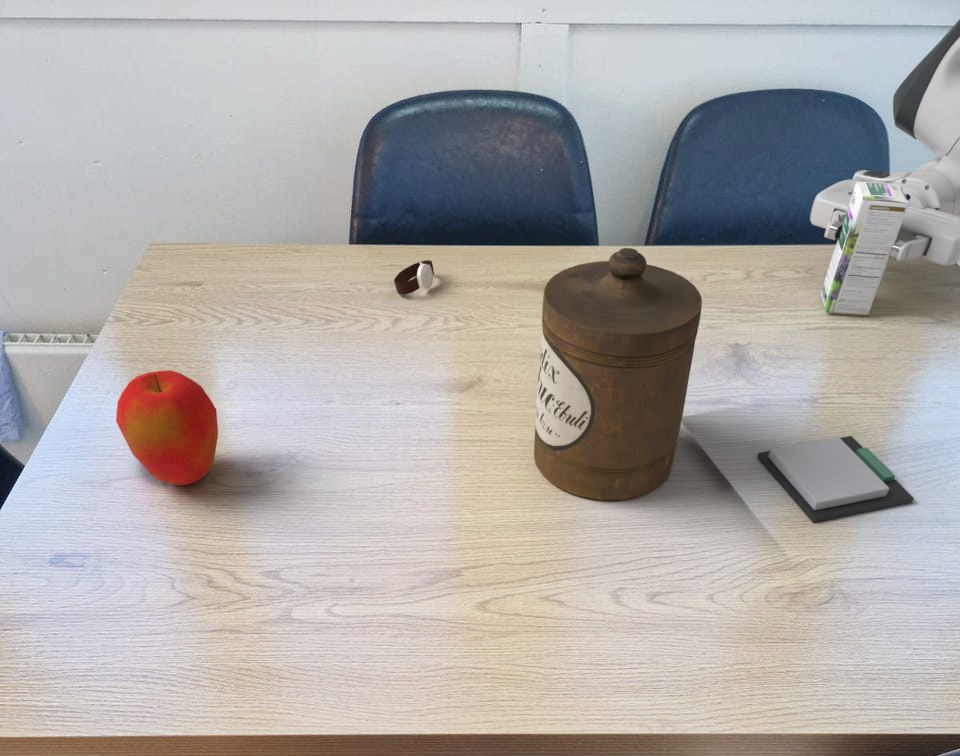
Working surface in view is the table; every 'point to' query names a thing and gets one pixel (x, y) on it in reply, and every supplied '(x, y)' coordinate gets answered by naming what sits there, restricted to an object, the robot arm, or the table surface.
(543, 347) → the wooden container
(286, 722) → the table surface
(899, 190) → the syrup box
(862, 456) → the scale
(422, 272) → the watch
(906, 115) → the robot arm
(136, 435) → the apple
